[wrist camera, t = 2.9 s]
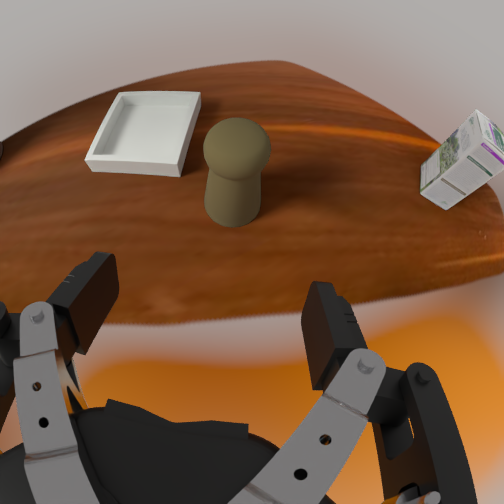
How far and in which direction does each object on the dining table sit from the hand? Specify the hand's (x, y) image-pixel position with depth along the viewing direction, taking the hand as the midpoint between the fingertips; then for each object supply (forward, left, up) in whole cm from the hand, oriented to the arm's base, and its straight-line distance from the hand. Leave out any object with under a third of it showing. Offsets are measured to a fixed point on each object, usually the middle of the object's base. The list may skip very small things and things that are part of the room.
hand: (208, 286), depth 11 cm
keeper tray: (-12, +20, -16) cm, 28 cm away
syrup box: (+28, +20, -16) cm, 38 cm away
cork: (0, +12, -16) cm, 20 cm away
